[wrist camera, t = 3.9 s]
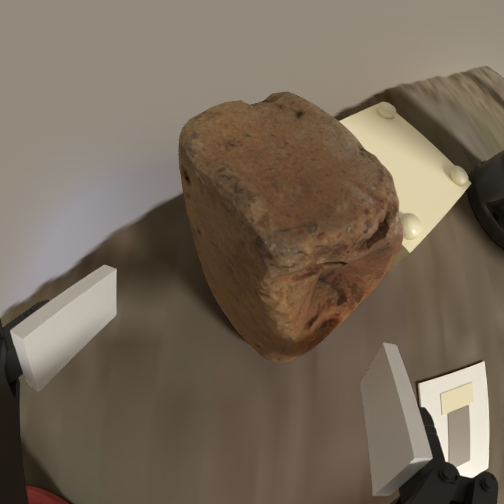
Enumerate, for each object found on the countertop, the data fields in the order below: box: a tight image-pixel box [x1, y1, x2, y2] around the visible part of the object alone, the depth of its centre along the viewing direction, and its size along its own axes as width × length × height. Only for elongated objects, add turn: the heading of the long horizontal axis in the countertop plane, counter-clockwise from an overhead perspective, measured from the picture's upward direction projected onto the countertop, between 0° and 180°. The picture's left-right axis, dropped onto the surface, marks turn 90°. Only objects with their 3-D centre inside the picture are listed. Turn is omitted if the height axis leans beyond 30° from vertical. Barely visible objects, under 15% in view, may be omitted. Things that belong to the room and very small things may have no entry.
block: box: [179, 92, 403, 363], centre depth 19 cm, size 11×8×20 cm
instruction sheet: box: [418, 361, 489, 478], centre depth 22 cm, size 10×14×1 cm
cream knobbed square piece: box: [339, 102, 471, 273], centre depth 32 cm, size 16×16×6 cm
